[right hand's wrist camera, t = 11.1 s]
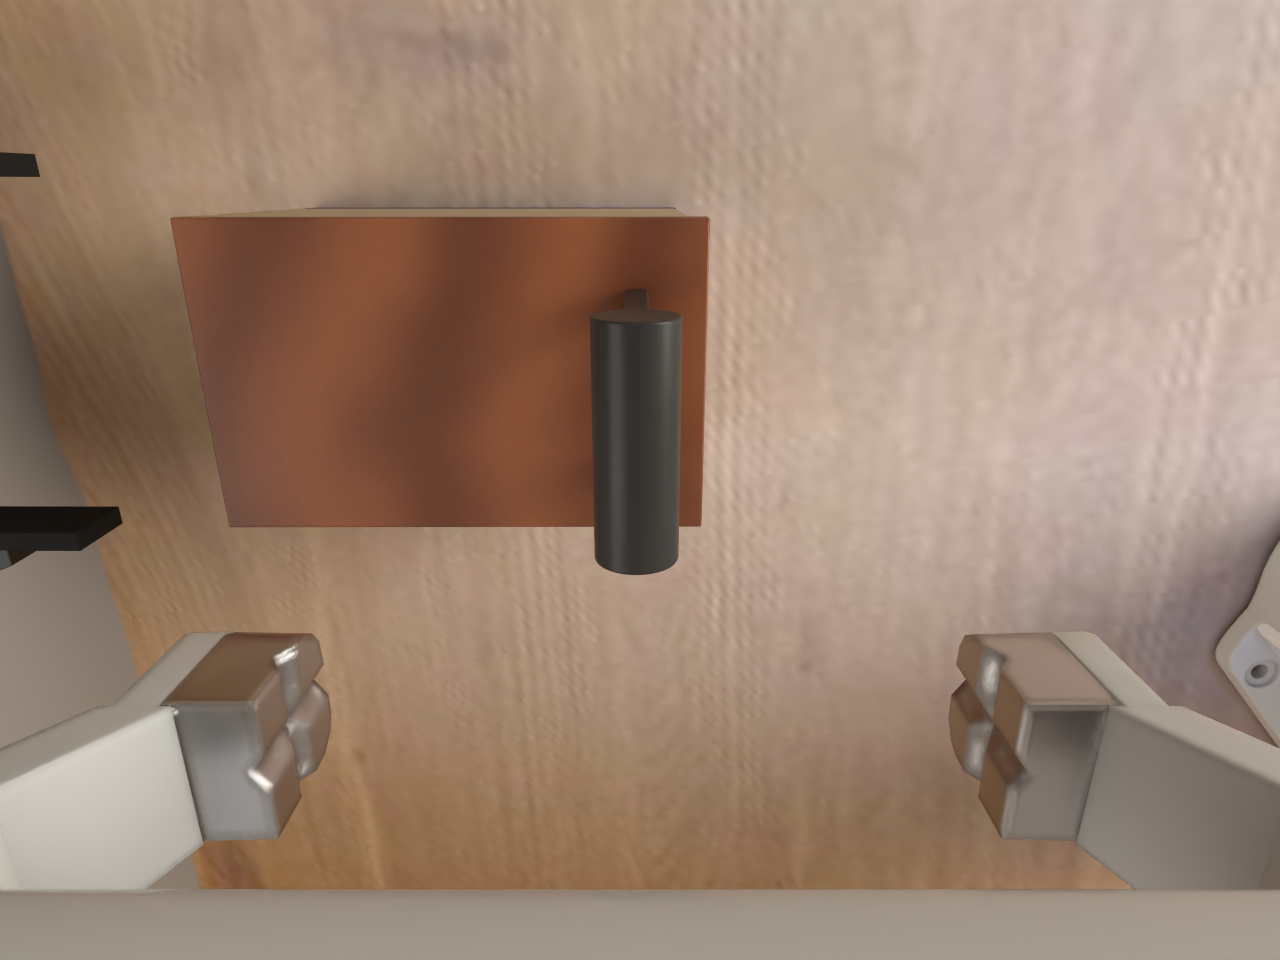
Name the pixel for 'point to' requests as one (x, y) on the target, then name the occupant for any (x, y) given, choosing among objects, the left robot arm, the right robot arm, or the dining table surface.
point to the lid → (456, 372)
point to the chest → (463, 212)
